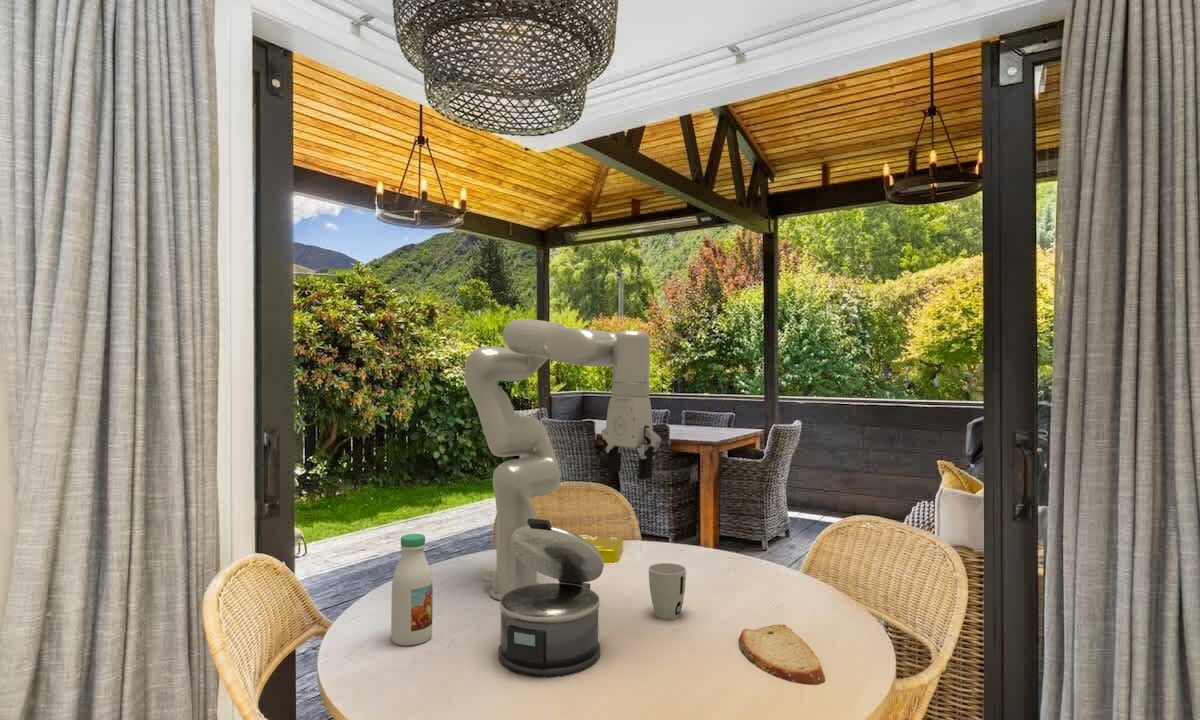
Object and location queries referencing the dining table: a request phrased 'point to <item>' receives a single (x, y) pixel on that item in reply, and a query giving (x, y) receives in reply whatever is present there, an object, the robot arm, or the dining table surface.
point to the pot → (549, 629)
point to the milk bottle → (412, 594)
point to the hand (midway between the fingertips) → (629, 475)
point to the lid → (556, 552)
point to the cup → (667, 589)
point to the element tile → (606, 546)
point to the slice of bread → (781, 654)
